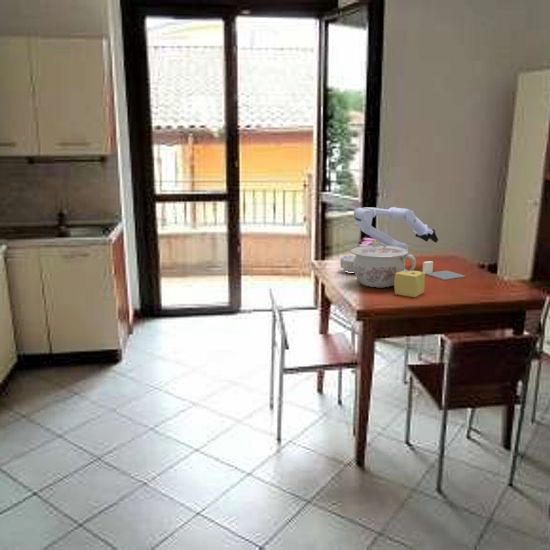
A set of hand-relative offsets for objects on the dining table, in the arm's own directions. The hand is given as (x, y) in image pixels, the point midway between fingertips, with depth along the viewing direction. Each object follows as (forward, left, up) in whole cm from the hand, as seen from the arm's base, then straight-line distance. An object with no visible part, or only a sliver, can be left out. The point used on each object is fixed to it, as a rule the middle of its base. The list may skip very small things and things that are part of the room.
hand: (432, 240), depth 297 cm
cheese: (-44, -37, -15) cm, 59 cm away
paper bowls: (-43, +10, -15) cm, 46 cm away
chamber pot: (-47, -17, -15) cm, 52 cm away
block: (-11, -10, -15) cm, 21 cm away
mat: (-7, -19, -15) cm, 25 cm away
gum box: (-25, +24, -15) cm, 38 cm away
